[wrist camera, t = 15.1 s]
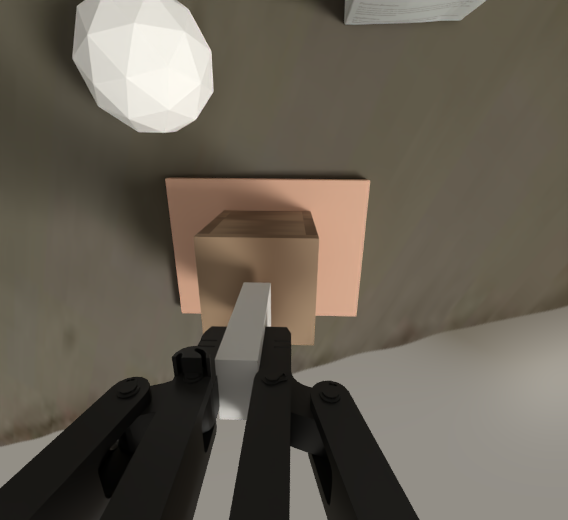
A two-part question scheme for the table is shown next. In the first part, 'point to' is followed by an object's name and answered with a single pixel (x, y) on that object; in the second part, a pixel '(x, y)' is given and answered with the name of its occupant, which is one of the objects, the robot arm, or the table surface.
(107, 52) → the ball
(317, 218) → the base plate
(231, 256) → the cardboard carton
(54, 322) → the table surface
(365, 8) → the skincare box
